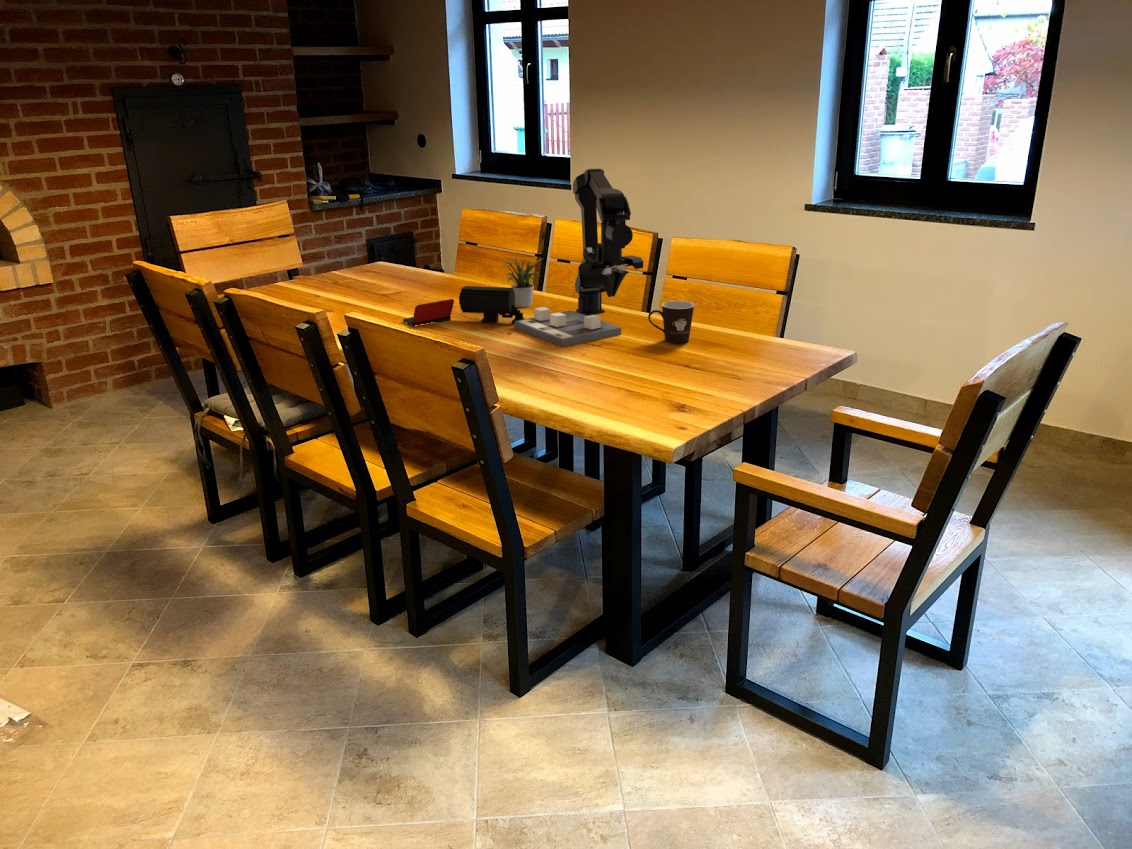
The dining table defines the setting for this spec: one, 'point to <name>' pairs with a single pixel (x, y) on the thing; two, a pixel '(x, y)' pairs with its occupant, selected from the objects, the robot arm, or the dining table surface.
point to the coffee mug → (676, 321)
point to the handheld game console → (431, 312)
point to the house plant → (522, 283)
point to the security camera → (489, 303)
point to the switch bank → (567, 330)
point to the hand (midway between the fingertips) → (611, 296)
